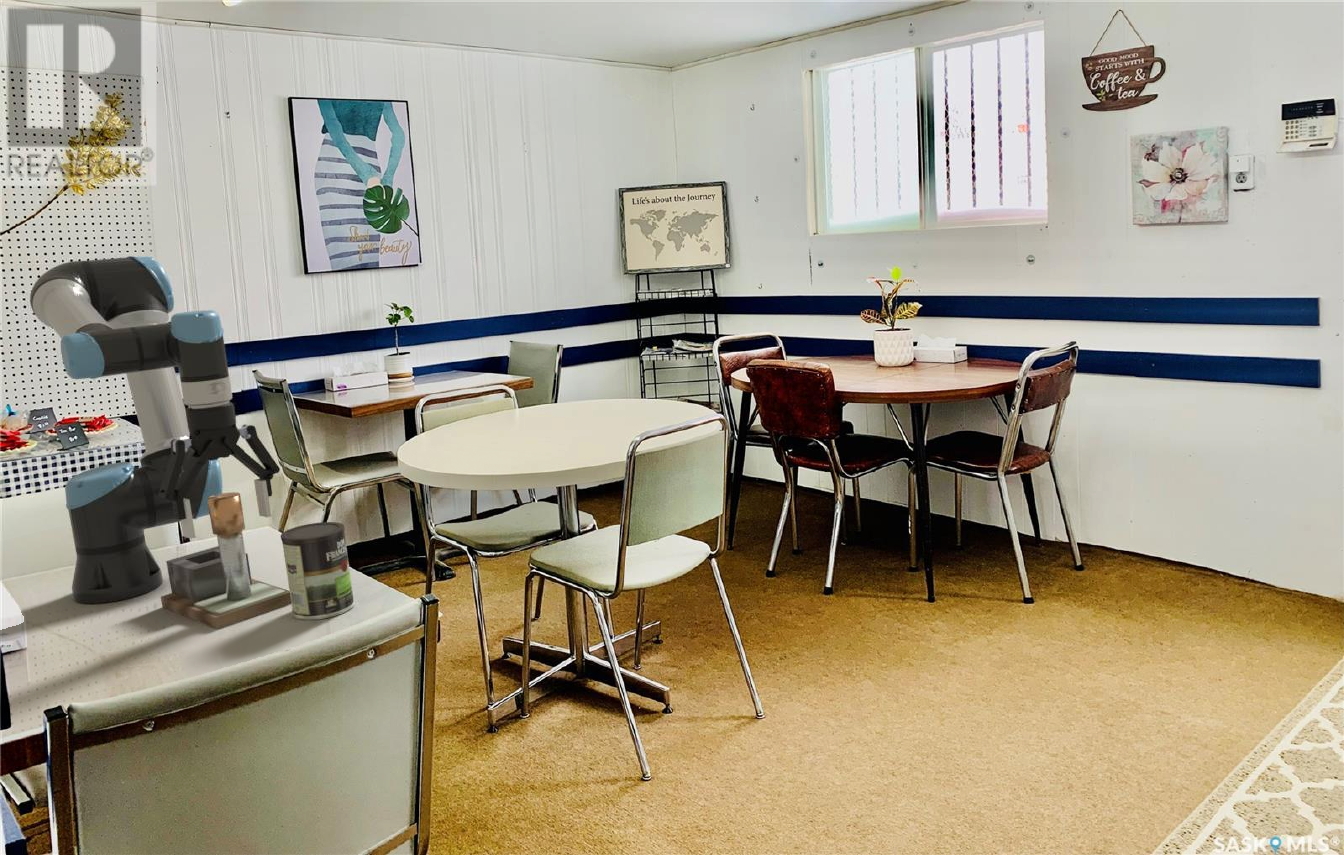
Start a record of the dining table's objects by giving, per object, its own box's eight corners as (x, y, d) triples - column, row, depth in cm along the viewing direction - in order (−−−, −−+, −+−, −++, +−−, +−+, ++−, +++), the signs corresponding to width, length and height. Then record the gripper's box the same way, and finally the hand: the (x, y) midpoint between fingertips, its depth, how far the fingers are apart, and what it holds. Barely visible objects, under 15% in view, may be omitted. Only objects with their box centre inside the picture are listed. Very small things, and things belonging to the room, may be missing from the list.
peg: (232, 604, 183) (216, 501, 179) (217, 598, 186) (201, 498, 183) (261, 594, 187) (245, 494, 183) (246, 589, 190) (230, 491, 187)
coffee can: (365, 598, 188) (355, 520, 186) (336, 620, 178) (325, 539, 176) (312, 598, 190) (300, 521, 188) (280, 620, 181) (268, 539, 178)
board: (162, 607, 191) (154, 564, 190) (236, 583, 202) (230, 542, 200) (217, 629, 179) (209, 583, 177) (293, 602, 189) (287, 558, 187)
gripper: (143, 419, 168) (165, 549, 172) (288, 392, 187) (305, 510, 191) (123, 416, 173) (145, 543, 177) (266, 390, 191) (283, 505, 196)
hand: (228, 526), depth 184 cm, fingers open, 13 cm apart
